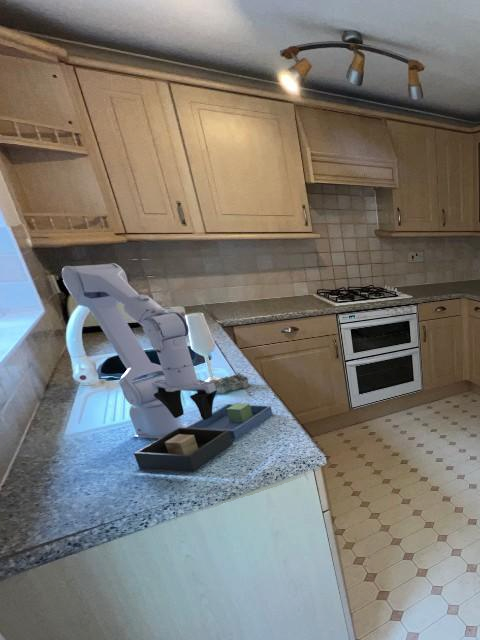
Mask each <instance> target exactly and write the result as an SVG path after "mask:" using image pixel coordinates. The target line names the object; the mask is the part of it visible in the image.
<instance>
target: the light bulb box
mask: <svg viewBox="0 0 480 640" xmlns="http://www.w3.org/2000/svg"><path fill="white" fill-rule="evenodd" d="M163 308H164V309H165V310H166V311H172V312H178V313H180V314H181V315H182V316H183V317H184V319H185V320H186V315H187V313H186V309H185V307H184V306H179V305H174V306H167V307H163ZM186 322H187V321H186Z"/></svg>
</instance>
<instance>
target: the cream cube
mask: <svg viewBox="0 0 480 640" xmlns="http://www.w3.org/2000/svg"><path fill="white" fill-rule="evenodd" d="M165 445H166V448H167V451H168V453H169V454H180V455H190V454H191V453H193V452H194V451H196V450H197V449H198V446H197V443H196V440H195V437H194V435H184V434H178V435H176V436H175V437H173V438H171V439H170V440H168V441H166V442H165Z"/></svg>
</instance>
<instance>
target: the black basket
mask: <svg viewBox="0 0 480 640" xmlns="http://www.w3.org/2000/svg"><path fill="white" fill-rule="evenodd" d="M178 434H184V435H194V437H195V440H196V443H197V446H198V449H197V450H196V451H194V452H193V453H191V454H190V455H180V454H169V453H168V451H167V448H166V445H165V442H166V441H168V440H170V439H171V438H173V437H175V436H176V435H178ZM233 445H234V443H233V439H231V436H230V432H229V430H213V429H195V428H178V429H176V430H174V431H172V432H171V433H169V434H167V435H165V436H163V437H162V438H157V440H155V441H153V442H151V443H149V444H147V445H146V446H144V447H142V448H140V449H138V450H136V451H134V452H133V455H134V457H135V462H136V463H137V466H138V468H139V469H141V470H158V471H171V472H173V471H174V472H191V473H195V472H196V471H198V470H199V469H201V468H202V467H204V466H205V465H206V464H207V463H209V462H210V461H212V460H213V459H215V458H216V457H217V456H219V455H221V454H222V453H223V452H224V451H226V450H228V449H229V448H230V447H232V446H233Z"/></svg>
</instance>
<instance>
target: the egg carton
mask: <svg viewBox="0 0 480 640" xmlns="http://www.w3.org/2000/svg"><path fill="white" fill-rule="evenodd" d="M220 378H221V379H218V380H211V381H209V382H210V383H214V384H215V388H216V390H217V393H216V395H219V394H225V393H226V392H228V391H237V390H239V389H247V388H248V387H249V386H250V384H249V381H250V378H248V377H247V376H246V375H244V374H242V373H241V372H237V373H236V374H233V375H230V376H225V377H220Z"/></svg>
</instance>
